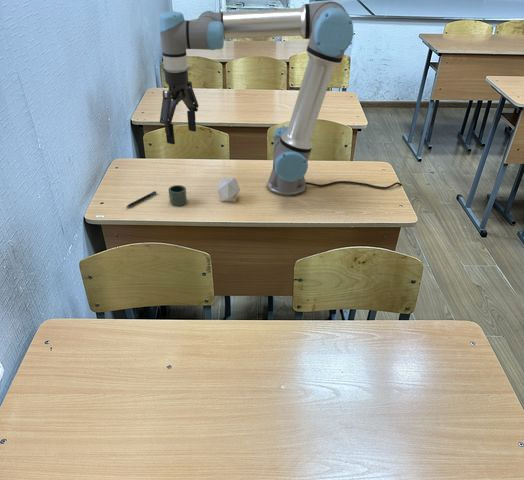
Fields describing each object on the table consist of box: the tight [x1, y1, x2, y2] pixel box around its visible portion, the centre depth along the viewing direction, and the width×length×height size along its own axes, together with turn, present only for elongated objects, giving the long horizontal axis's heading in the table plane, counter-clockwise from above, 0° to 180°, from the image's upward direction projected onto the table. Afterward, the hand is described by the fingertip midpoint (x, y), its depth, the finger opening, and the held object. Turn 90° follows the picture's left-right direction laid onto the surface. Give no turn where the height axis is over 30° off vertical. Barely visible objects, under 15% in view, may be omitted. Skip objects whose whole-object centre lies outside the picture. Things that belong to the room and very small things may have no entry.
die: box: [216, 177, 241, 203], centre depth 193 cm, size 8×9×10 cm
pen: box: [126, 190, 157, 208], centre depth 192 cm, size 1×16×1 cm, turn 146°
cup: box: [168, 184, 188, 207], centre depth 191 cm, size 6×6×6 cm
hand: (181, 137), depth 177 cm, fingers open, 13 cm apart
